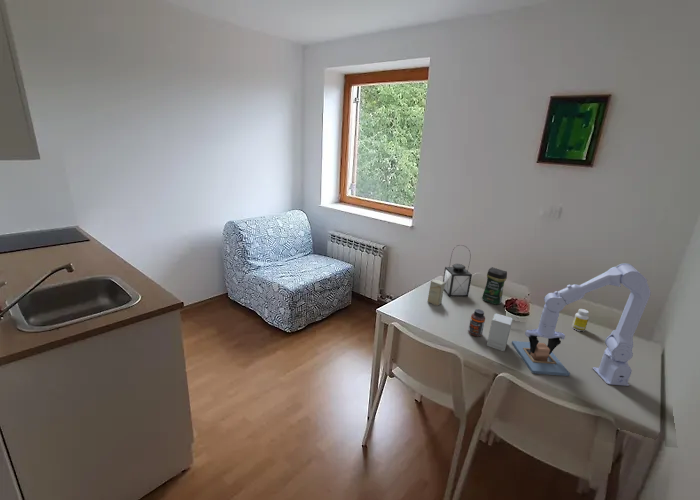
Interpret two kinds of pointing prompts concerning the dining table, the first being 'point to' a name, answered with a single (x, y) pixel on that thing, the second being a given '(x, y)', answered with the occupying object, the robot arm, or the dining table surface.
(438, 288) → the skincare box
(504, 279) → the coffee jar
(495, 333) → the supplement box
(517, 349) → the blue board with hole
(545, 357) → the block
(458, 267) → the lantern
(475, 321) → the supplement bottle
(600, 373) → the robot arm
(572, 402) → the dining table surface
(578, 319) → the supplement bottle
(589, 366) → the dining table surface
